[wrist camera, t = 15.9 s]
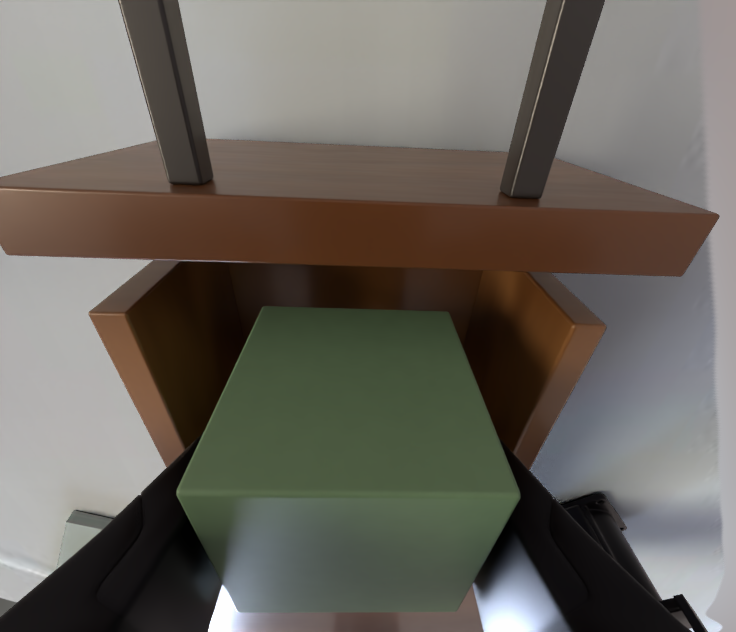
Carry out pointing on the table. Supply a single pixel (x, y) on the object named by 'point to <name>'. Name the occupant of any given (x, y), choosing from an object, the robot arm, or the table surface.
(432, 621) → the cabinet
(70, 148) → the table surface
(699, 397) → the table surface
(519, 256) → the drawer
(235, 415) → the block
